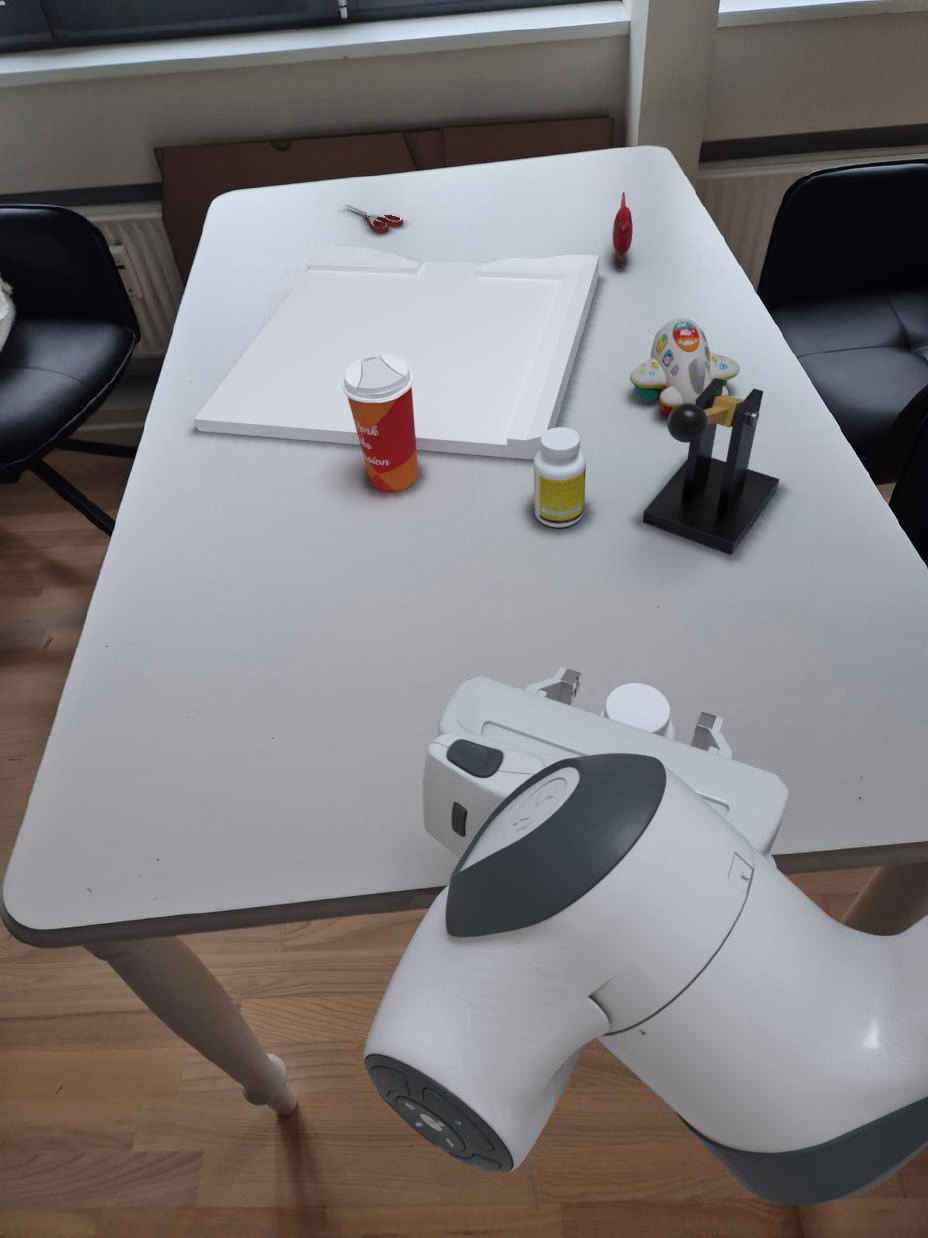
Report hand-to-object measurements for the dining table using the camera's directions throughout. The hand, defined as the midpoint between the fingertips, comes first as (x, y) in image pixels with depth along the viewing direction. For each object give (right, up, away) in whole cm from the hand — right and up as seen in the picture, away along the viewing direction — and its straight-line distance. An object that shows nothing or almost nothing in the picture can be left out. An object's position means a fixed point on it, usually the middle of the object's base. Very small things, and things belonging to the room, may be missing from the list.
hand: (638, 699), depth 56 cm
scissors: (-28, +75, +95) cm, 124 cm away
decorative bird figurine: (+13, +62, +78) cm, 101 cm away
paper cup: (-19, +22, +45) cm, 53 cm away
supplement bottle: (-1, +17, +38) cm, 42 cm away
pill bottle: (+2, -9, +14) cm, 17 cm away
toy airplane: (+16, +33, +52) cm, 63 cm away
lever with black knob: (+11, +23, +25) cm, 35 cm away
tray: (-18, +43, +64) cm, 79 cm away
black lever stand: (+15, +17, +37) cm, 44 cm away
